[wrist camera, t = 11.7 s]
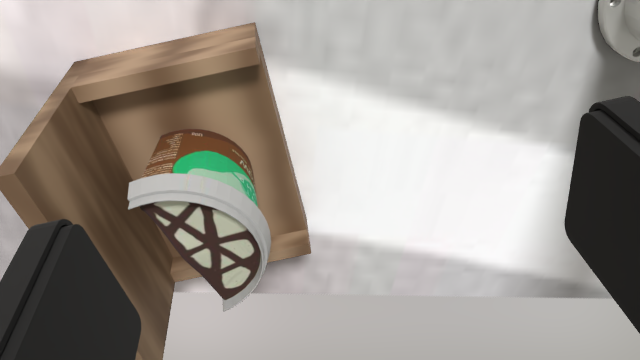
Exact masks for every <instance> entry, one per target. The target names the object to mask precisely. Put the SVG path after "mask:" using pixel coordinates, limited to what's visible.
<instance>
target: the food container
mask: <svg viewBox="0 0 640 360" xmlns="http://www.w3.org/2000/svg"><path fill="white" fill-rule="evenodd" d="M128 200H129V201H130V203H129V207H128V209H132V208H135V207H138V206H139V207H140V208H141V210H142V211H144V212H145V213H146V214H147V215H148V216H149V217H150V218H151V219H152V220H153V221H154V223H155V224H156V225H157V226H158V227H159V228H160V229H161V231H162V232H163V233H164V234H165V236H166V237H167V238H168V240H169V241H170V242H171V244H172V245H173V246H174V248H175V249H176V250H177V252H178V253H179V254H180V255H181V257H182V258H183V259H184V260H185V261H186V262H187V263H188V264H189V265H190V266H191V267H193V268H194V269H195V270H196V271H197V272H198V273H200V274H201V275H202V276H203V277H204V278H205V279H206V280H207V281H208V283H209V284H210V285H211V286H212V287H213V288H214V289H215V290H216V291H217V292H218V294H219V295H220V296H221V297H222V298H223V311H226V310H228V309H230V308H233V307H234V306H236V305H237V304H239V303H240V302H242V301H243V300H244V299H245V298H247V297H248V296H249V295H250V294H251V293H252V291H253V290H254V289H255V288H256V286H257V284H258V283H259V281H260V279H261V277H262V276H263V274H264V271H265V268H266V265H267V261H268V257H269V253H270V247H271V235H270V229H269V226H268V223H267V221H266V219H265V217H264V215H263V214H262V212H261V211H260V209H259V208H258V205H257V197H256V190H255V182H254V175H253V170H252V166H251V162H250V160H249V158H248V156H247V155H246V153H245V152H244V151H243V150H242V148H241V147H239V146H238V145H237V144H236V143H235V142H234V141H232V140H230V139H229V138H227V137H225V136H223V135H221V134H219V133H215V132H212V131H208V130H202V129H182V130H177V131H172V132H169V133H166V134H164V135H161V137H160V139H159V141H158V143H157V145H156V147H155V150H154V152H153V154H152V156H151V158H150V160H149V162H148V164H147V167H146V169H145V171H144V173H143V175H142V177H141V179H138V180H135V181H132V182H130V183H129V189H128Z"/></svg>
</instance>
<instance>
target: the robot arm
mask: <svg viewBox="0 0 640 360" xmlns="http://www.w3.org/2000/svg"><path fill="white" fill-rule="evenodd" d="M598 21H599V26H600V31H601V33H602V35H603V37H604V39H605V41H606V42H607V44H608V45H609V46H610V47H611V48H612V49H613V50H614V51H616V52H617V53H619V54H620V55H622V56H623V57H625V58H627V59H629V60H632V61H636V62H640V0H599V3H598ZM565 230H566V234H567V236H568V238H569V240H570V241H571V243H572V244H573V245H574V247H575V248H576V249H577V251H578V252H579V253H580V255H581V256H582V257H583V259H584V260H585V261H586V263H587V264H588V265H589V267H590V268H591V269H592V271H593V272H594V273H595V275H596V276H597V277H598V279H599V280H600V281H601V283H602V284H603V285H604V287H605V288H606V289H607V291H608V292H609V293H610V295H611V296H612V297H613V299H614V300H615V301H616V303H617V304H618V305H619V307H620V308H621V309H622V311H623V312H624V313H625V314H626V316H627V317H628V319H629V320H630V321H631V323H632V324H633V325H634V326H635V328H636V329H637V331H638V332H639V333H640V102H639V101H637V100H636V99H634V98H632V97H629V96H625V97H621V98H616V99H612V100H607V101H602V102H598V103H595V104H593V105H592V106H591V108H590V109H589V113H586V114H584V115H583V116H582V118H581V121H580V127H579V133H578V140H577V146H576V152H575V159H574V165H573V171H572V178H571V184H570V191H569V197H568V203H567V210H566V216H565ZM140 335H141V319H140V316H139V313H138V312H137V310H136V308H135V307H134V305H133V304H132V302H131V301H130V299H129V298H128V296H127V295H126V293H125V291H124V290H123V288H122V287H121V285H120V284H119V282H118V281H117V279H116V278H115V276H114V274H113V273H112V271H111V270H110V268H109V267H108V265H107V264H106V262H105V261H104V259H103V258H102V256H101V254H100V253H99V251H98V250H97V248H96V247H95V245H94V244H93V242H92V241H91V239H90V237H89V236H88V234H87V233H86V231H85V230H84V229H83V227H82V226H80V225H79V224H74V225H73V224H72V222H71V221H69V220H67V219H60V220H56V221H51V222H46V223H42V224H37V225H34V226H32V227H30V229H29V230H28V231H27V233H26V235H25V237H24V239H23V241H22V242H21V244H20V246H19V248H18V250H17V252H16V254H15V255H14V257H13V259H12V261H11V263H10V265H9V267H8V268H7V270H6V272H5V274H4V276H3V278H2V280H1V281H0V360H135V358H136V353H137V349H138V344H139V339H140Z"/></svg>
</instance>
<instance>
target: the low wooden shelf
mask: <svg viewBox="0 0 640 360" xmlns="http://www.w3.org/2000/svg"><path fill="white" fill-rule="evenodd" d="M182 129H202V130H208V131H212V132H215V133H219V134H221V135H223V136H225V137H227V138H229V139H230V140H232V141H234V142H235V143H236V144H237V145H238V146H239V147H241V148H242V150H243V151H244V152H245V153H246V155H247V156H248V158H249V160H250V162H251V166H252V170H253V175H254V182H255V190H256V197H257V205H258V208H259V209H260V211H261V212H262V214H263V215H264V217H265V219H266V221H267V223H268V226H269V229H270V235H271V247H270V253H269V257H268V261H267V263H268V262H273V261H277V260H282V259H287V258H292V257H296V256H301V255H306V254H311V248H310V241H309V234H308V226H307V219H306V215H305V211H304V207H303V203H302V200H301V196H300V192H299V188H298V184H297V181H296V177H295V173H294V169H293V165H292V161H291V158H290V154H289V150H288V146H287V142H286V139H285V135H284V131H283V127H282V123H281V120H280V116H279V112H278V108H277V104H276V101H275V97H274V93H273V89H272V85H271V82H270V78H269V74H268V70H267V66H266V63H265V59H264V55H263V51H262V47H261V44H260V40H259V36H258V32H257V28H256V25H255V23H250V24H246V25H241V26H237V27H232V28H227V29H223V30H218V31H214V32H209V33H205V34H200V35H195V36H191V37H186V38H182V39H177V40H173V41H168V42H164V43H159V44H154V45H150V46H145V47H141V48H136V49H132V50H127V51H123V52H118V53H113V54H109V55H104V56H100V57H95V58H91V59H86V60H82V61H77V62H74V63H73V65H72V66H71V68H70V69H69V70H68V72H67V73H66V75H65V76H64V77H63V79H62V80H61V82H60V83H59V84H58V86H57V87H56V89H55V90H54V91H53V93H52V94H51V96H50V97H49V98H48V100H47V101H46V103H45V104H44V105H43V107H42V108H41V110H40V111H39V112H38V114H37V115H36V117H35V118H34V120H33V121H32V122H31V124H30V125H29V127H28V128H27V129H26V131H25V132H24V134H23V135H22V136H21V138H20V139H19V141H18V142H17V143H16V145H15V146H14V148H13V149H12V150H11V152H10V153H9V155H8V156H7V157H6V159H5V160H4V162H3V163H2V164H1V166H0V190H1V192H2V193H3V195H4V196H5V197H6V199H7V200H8V201H9V203H10V204H11V205H12V207H13V208H14V209H15V211H16V212H17V214H18V215H19V216H20V218H21V219H22V220H23V222H24V223H25V224H26V226H27V227H28V229H30V227H32V226H34V225H37V224H42V223H46V222H51V221H56V220H60V219H67V220H69V221H71V222H72V224H73V225H74V224H79V225H80V226H82V227H83V229H84V230H85V231H86V233H87V234H88V236H89V237H90V239H91V241H92V242H93V244H94V245H95V247H96V248H97V250H98V251H99V253H100V254H101V256H102V258H103V259H104V261H105V262H106V264H107V265H108V267H109V268H110V270H111V271H112V273H113V274H114V276H115V278H116V279H117V281H118V282H119V284H120V285H121V287H122V288H123V290H124V291H125V293H126V295H127V296H128V298H129V299H130V301H131V302H132V304H133V305H134V307H135V308H136V310H137V312H138V313H139V316H140V319H141V335H140V339H139V344H138V349H137V353H136V358H135V360H163V353H164V347H165V340H166V335H167V328H168V322H169V316H170V309H171V303H172V297H173V291H174V285H175V282H178V281H183V280H188V279H192V278H197V277H202V275H201V274H200V273H198V272H197V271H196V270H195V269H194V268H193V267H191V266H190V265H189V264H188V263H187V262H186V261H185V260H184V259H183V258H182V257H181V255H180V254H179V253H178V252H177V250H176V249H175V248H174V246H173V245H172V244H171V242H170V241H169V240H168V238H167V237H166V236H165V234H164V233H163V232H162V231H161V229H160V228H159V227H158V226H157V225H156V224H155V223H154V221H153V220H152V219H151V218H150V217H149V216H148V215H147V214H146V213H145V212H144V211H142V210H141V208H140V207H139V206H138V207H135V208H132V209H128V207H129V203H130V201H129V200H128V189H129V183H130V182H132V181H135V180H138V179H141V177H142V175H143V173H144V171H145V169H146V167H147V164H148V162H149V160H150V158H151V156H152V154H153V152H154V150H155V147H156V145H157V143H158V141H159V139H160V137H161V135H164V134H166V133H169V132H172V131H177V130H182Z"/></svg>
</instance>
